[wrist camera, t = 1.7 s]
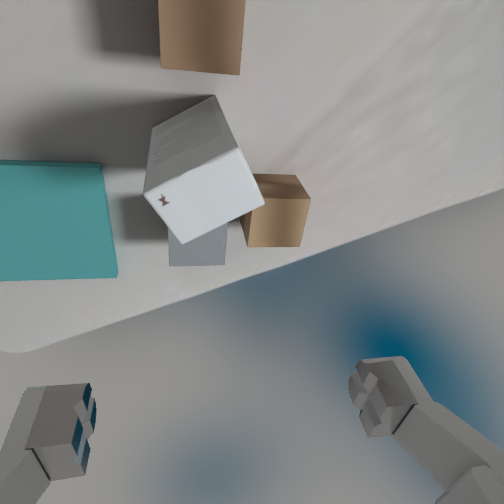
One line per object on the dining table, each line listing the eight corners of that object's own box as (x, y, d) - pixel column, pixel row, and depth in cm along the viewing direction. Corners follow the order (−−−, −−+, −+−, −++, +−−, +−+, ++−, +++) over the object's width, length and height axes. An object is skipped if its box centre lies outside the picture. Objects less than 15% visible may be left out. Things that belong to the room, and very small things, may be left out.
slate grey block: (170, 235, 35) (169, 266, 31) (168, 190, 32) (167, 218, 28) (219, 235, 36) (224, 265, 32) (222, 192, 33) (228, 219, 29)
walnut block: (163, 56, 25) (160, 68, 21) (160, -31, 22) (156, -36, 18) (230, 63, 26) (239, 75, 22) (235, -20, 23) (247, -22, 19)
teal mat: (-11, 274, 34) (-15, 281, 33) (-63, 157, 27) (-71, 162, 26) (118, 271, 36) (116, 277, 35) (101, 163, 29) (99, 168, 28)
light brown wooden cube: (239, 218, 35) (247, 247, 31) (244, 173, 32) (253, 198, 28) (286, 219, 36) (299, 246, 32) (295, 174, 33) (310, 199, 29)
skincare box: (178, 170, 31) (179, 248, 21) (151, 126, 28) (138, 194, 19) (239, 139, 30) (267, 206, 21) (216, 92, 27) (237, 143, 18)
